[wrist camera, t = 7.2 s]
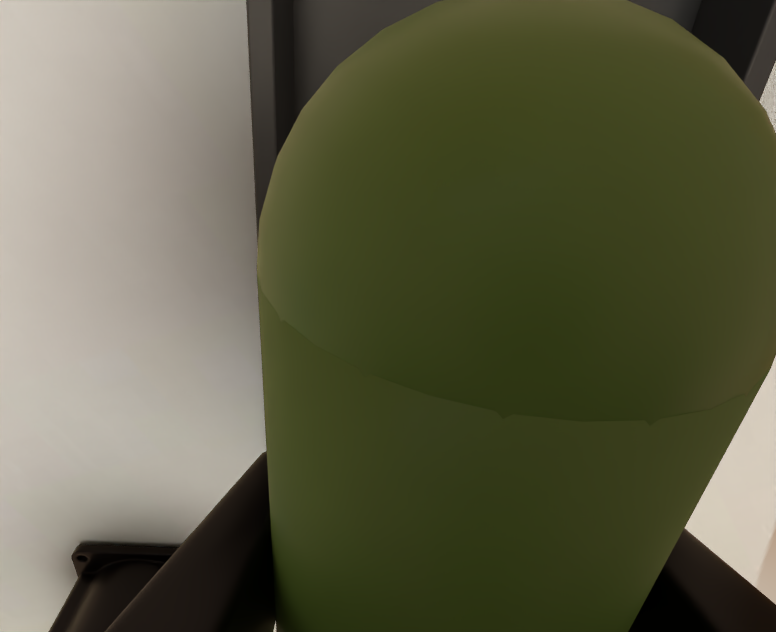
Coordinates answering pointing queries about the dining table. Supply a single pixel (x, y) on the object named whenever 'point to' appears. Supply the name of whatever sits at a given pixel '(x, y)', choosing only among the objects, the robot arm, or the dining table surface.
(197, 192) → the dining table surface
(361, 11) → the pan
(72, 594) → the robot arm
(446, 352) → the squash
